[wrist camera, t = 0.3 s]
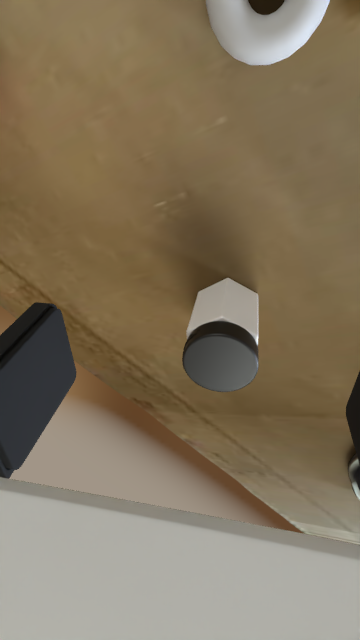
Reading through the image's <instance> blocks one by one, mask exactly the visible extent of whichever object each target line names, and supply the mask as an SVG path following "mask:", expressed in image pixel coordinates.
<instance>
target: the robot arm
mask: <svg viewBox="0 0 360 640" xmlns="http://www.w3.org/2000/svg"><path fill="white" fill-rule="evenodd" d="M75 378H76V368H75V364H74V360H73V356H72V352H71V348H70V344H69V340H68V336H67V332H66V328H65V324H64V320H63V316H62V313H61V311H60V309H57V307H56V306H55V305H54V304H48V303H34V304H33V305H32V306H31V307H29V308H28V309H27V310H26V311H25V312H24V313H23V314H22V315H21V316H20V317H19V318H18V319H17V320H16V321H15V322H14V323H13V324H12V325H11V326H10V327H9V328H8V329H6V330H5V331H4V332H3V333H2V334H1V335H0V640H360V545H357V544H352V543H348V542H343V541H338V540H333V539H328V538H324V537H318V536H313V535H308V534H303V533H297V532H292V531H287V530H282V529H277V528H271V527H266V526H261V525H256V524H251V523H245V522H240V521H235V520H229V519H224V518H219V517H214V516H209V515H203V514H198V513H193V512H187V511H182V510H177V509H171V508H166V507H161V506H155V505H150V504H145V503H139V502H134V501H128V500H123V499H117V498H112V497H107V496H101V495H96V494H91V493H85V492H79V491H74V490H68V489H63V488H57V487H52V486H46V485H41V484H35V483H29V482H24V481H18V480H13V479H9V478H10V476H11V474H12V473H13V471H14V470H17V469H19V468H20V467H21V465H22V464H23V463H24V461H25V459H26V458H27V456H28V455H29V453H30V451H31V450H32V448H33V447H34V445H35V443H36V442H37V440H38V439H39V437H40V435H41V434H42V432H43V431H44V429H45V427H46V426H47V424H48V423H49V421H50V420H51V418H52V416H53V414H54V413H55V412H56V410H57V408H58V407H59V405H60V404H61V402H62V400H63V399H64V397H65V396H66V394H67V392H68V391H69V389H70V388H71V386H72V384H73V383H74V381H75ZM346 417H347V421H348V425H349V428H350V432H351V436H352V439H353V443H354V447H355V450H356V454H357V457H358V461H359V465H360V372H359V374H358V377H357V380H356V382H355V385H354V387H353V390H352V393H351V395H350V398H349V400H348V403H347V406H346Z"/></svg>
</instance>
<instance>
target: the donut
mask: <svg viewBox="0 0 360 640" xmlns="http://www.w3.org/2000/svg"><path fill="white" fill-rule="evenodd" d="M329 1H330V0H285V1H284V3H283V4H282V6H281V7H280V8H279V9H278V10H277V11H275V12H274V13H271V14H269V15H261V14H258V13H256V12H255V11H254V10H253V9H252V8H251V6H250V4H249V2H248V0H206V6H207V11H208V15H209V20H210V25H211V28H212V30H213V32H214V34H215V35H216V37H217V39H218V41H219V43H220V45H221V46H222V47H223V48H224V49H225V50H226V51H227V52H228V53H229V54H230V55H231V56H232V57H233V58H235V59H237V60H239V61H242V62H244V63H247V64H250V65H270V64H273V63H275V62H278V61H280V60H283V59H285V58H288V57H289V56H290V55H292V54H293V53H294V52H295V51H296V50H298V49H299V48H300V47H301V46H303V45H304V44H305V43H306V42H307V40H308V39H309V38H310V36H311V35H312V34H313V32H314V31H315V29H316V28H317V27H318V25H319V24H320V23H321V20H322V18H323V15H324V13H325V11H326V8H327V6H328V4H329Z"/></svg>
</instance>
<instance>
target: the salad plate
mask: <svg viewBox="0 0 360 640" xmlns="http://www.w3.org/2000/svg"><path fill="white" fill-rule="evenodd" d="M348 472H349V476H350V480H351V483H352V487H353V491H354V493H355V495H356V497H357V498H358V499H359V500H360V465H359V461H358V457H357V454H355V455H354V456H353V457H352V459H351V461H350V463H349V466H348Z"/></svg>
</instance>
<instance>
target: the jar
mask: <svg viewBox="0 0 360 640" xmlns="http://www.w3.org/2000/svg"><path fill="white" fill-rule="evenodd" d="M182 361H183V367H184V369H185V371H186V373H187V375H188V376H189V377H190V378H191V379H192V380H193V381H194V382H195V383H197V384H198V385H200V386H202V387H204V388H206V389H209V390H212V391H218V392H230V391H235V390H238V389H241V388H243V387H245V386H246V385H248V384H249V383H250V382H251V381H252V380H253V379H254V378H255V376H256V374H257V371H258V294H257V293H255V292H253V291H251V290H250V289H248V288H246V287H244V286H242V285H241V284H239V283H237V282H235V281H233V280H232V279H230V278H226V279H224V280H222V281H220V282H218V283H216V284H213V285H211V286H209V287H207V288H205V289H203V290H201V291H199V292H198V295H197V298H196V301H195V305H194V308H193V312H192V315H191V318H190V322H189V325H188V329H187V342H186V343H185V347H184V351H183V358H182Z"/></svg>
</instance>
